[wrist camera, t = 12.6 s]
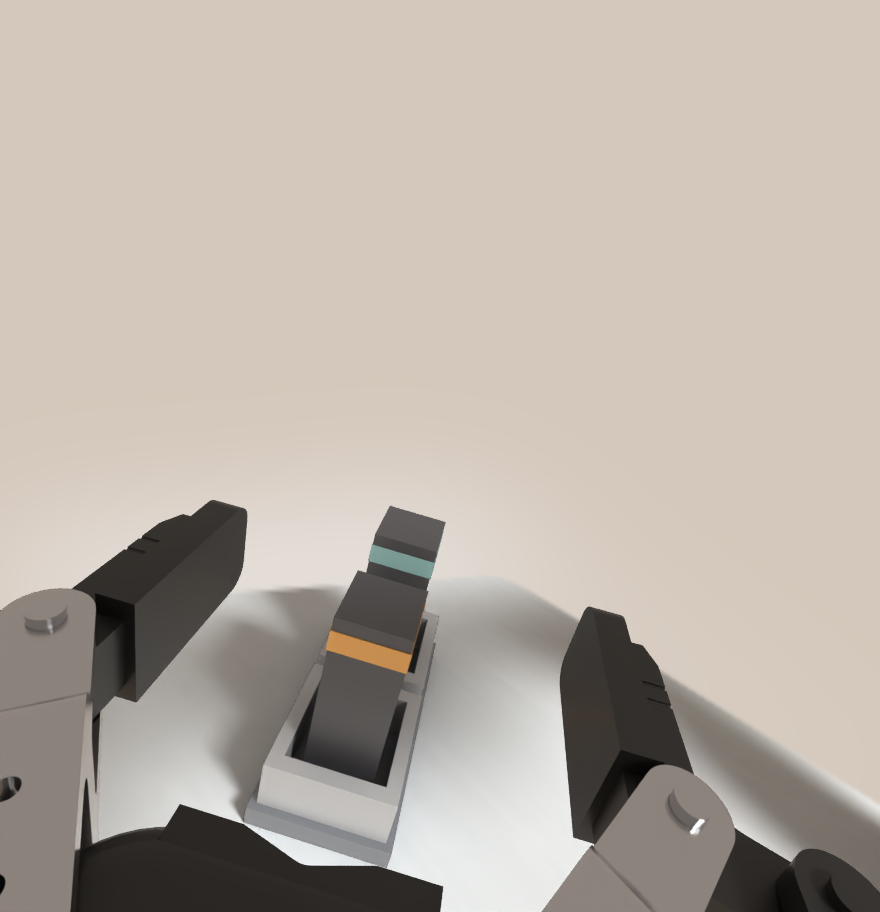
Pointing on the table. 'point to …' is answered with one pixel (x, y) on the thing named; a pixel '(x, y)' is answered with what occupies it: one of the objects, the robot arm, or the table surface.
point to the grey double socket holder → (335, 794)
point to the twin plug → (406, 548)
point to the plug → (363, 674)
